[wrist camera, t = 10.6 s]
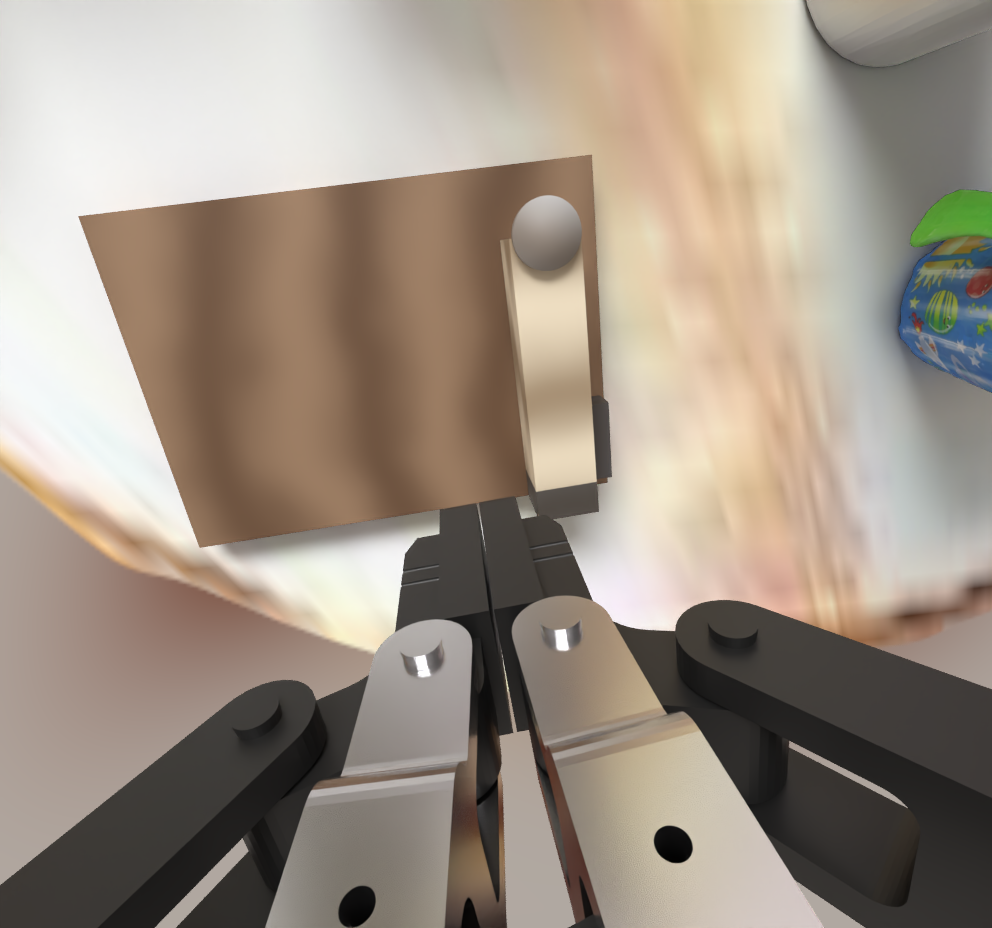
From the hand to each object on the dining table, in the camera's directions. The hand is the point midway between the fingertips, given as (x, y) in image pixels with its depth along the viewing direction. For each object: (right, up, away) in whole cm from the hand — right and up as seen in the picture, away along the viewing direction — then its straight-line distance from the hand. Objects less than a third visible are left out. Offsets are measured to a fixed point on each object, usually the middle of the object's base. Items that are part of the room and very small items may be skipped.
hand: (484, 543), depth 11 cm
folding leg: (+3, +7, +17) cm, 18 cm away
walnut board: (-6, +7, +18) cm, 20 cm away
